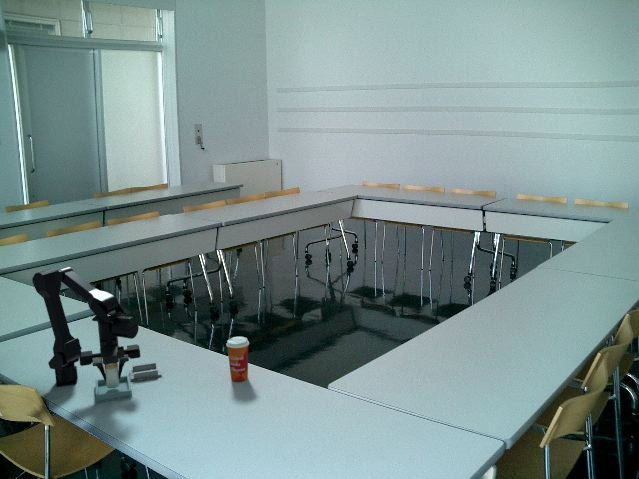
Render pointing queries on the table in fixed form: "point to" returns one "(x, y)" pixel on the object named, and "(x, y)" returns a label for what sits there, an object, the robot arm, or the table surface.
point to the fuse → (112, 375)
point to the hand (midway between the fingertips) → (112, 379)
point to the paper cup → (238, 358)
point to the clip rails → (145, 371)
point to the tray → (113, 390)
